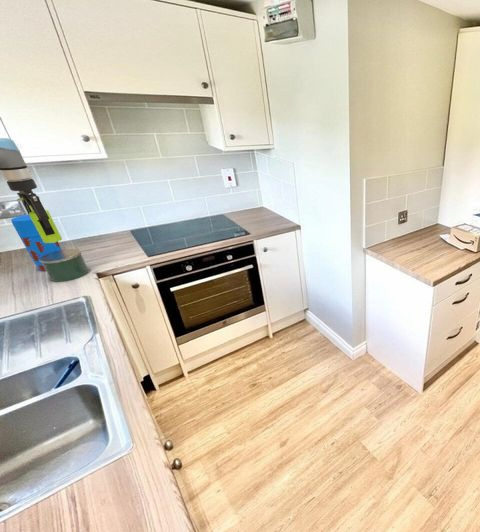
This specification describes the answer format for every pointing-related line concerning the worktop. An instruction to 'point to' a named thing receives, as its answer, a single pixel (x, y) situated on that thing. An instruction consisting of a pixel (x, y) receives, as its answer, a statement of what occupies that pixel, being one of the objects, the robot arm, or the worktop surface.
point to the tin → (64, 265)
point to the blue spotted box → (33, 240)
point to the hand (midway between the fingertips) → (47, 232)
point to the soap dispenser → (45, 238)
